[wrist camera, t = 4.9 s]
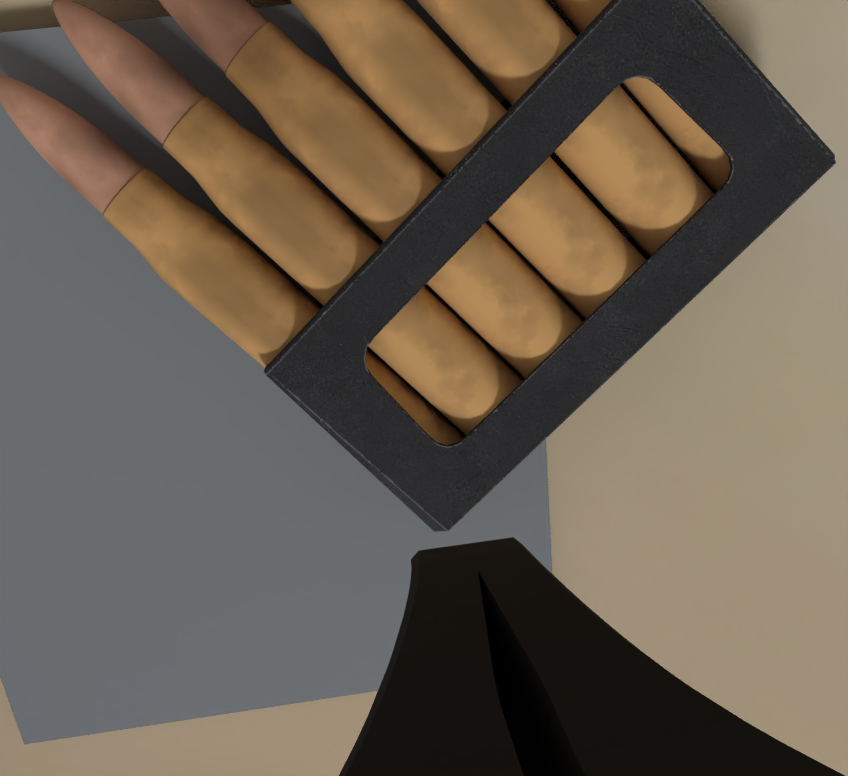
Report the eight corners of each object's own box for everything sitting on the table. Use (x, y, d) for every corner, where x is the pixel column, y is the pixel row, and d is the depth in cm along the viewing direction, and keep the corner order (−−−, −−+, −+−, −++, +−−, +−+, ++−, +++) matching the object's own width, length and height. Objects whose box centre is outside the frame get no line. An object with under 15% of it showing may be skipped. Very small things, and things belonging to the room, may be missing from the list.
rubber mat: (519, -17, 15) (523, -19, 15) (552, 653, 21) (556, 663, 21) (-209, 55, 14) (-223, 54, 14) (30, 731, 20) (24, 744, 20)
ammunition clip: (440, 539, 17) (-65, 116, 13) (432, 499, 18) (-16, 118, 15) (840, 158, 15) (370, -441, 11) (788, 155, 16) (368, -366, 13)
